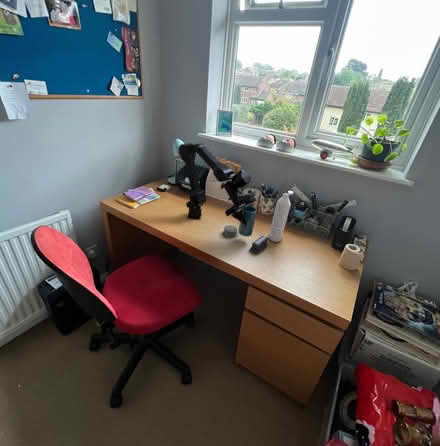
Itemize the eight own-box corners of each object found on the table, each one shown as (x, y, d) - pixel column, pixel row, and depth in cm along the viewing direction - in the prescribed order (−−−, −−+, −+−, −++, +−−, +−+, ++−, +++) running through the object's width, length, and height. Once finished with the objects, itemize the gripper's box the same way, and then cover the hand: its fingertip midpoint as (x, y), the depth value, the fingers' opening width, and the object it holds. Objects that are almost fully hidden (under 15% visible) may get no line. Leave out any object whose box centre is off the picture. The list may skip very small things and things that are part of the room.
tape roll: (223, 236, 123) (224, 231, 121) (223, 229, 128) (224, 224, 126) (236, 238, 123) (237, 232, 121) (236, 231, 128) (237, 225, 127)
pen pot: (236, 234, 117) (240, 210, 110) (240, 227, 123) (244, 204, 116) (250, 237, 116) (255, 213, 109) (253, 231, 121) (258, 207, 114)
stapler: (256, 254, 113) (258, 246, 110) (249, 250, 114) (251, 243, 112) (267, 245, 120) (269, 237, 118) (260, 242, 122) (262, 234, 120)
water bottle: (276, 243, 122) (289, 197, 109) (265, 238, 125) (276, 192, 113) (285, 237, 128) (298, 193, 115) (274, 232, 131) (286, 189, 118)
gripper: (234, 190, 102) (251, 222, 103) (256, 180, 115) (272, 209, 116) (217, 200, 110) (234, 231, 111) (240, 190, 123) (255, 218, 124)
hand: (249, 222), depth 115 cm, fingers closed on pen pot, 7 cm apart
